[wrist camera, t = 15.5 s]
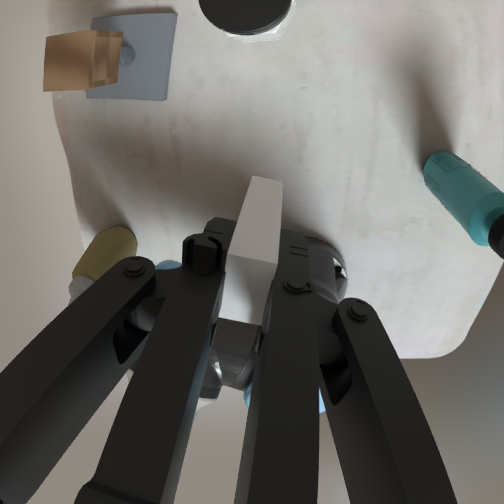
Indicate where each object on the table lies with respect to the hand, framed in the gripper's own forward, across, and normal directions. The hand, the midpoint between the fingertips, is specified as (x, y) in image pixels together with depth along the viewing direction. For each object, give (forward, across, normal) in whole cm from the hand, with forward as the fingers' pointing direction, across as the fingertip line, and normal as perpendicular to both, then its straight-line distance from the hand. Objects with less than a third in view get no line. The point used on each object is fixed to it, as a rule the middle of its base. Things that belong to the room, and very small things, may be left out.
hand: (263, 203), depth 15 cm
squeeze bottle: (+27, +22, +24) cm, 42 cm away
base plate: (+26, +21, -6) cm, 34 cm away
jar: (+27, +5, -13) cm, 30 cm away
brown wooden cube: (+18, +21, -6) cm, 28 cm away
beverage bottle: (+27, -23, +1) cm, 35 cm away
